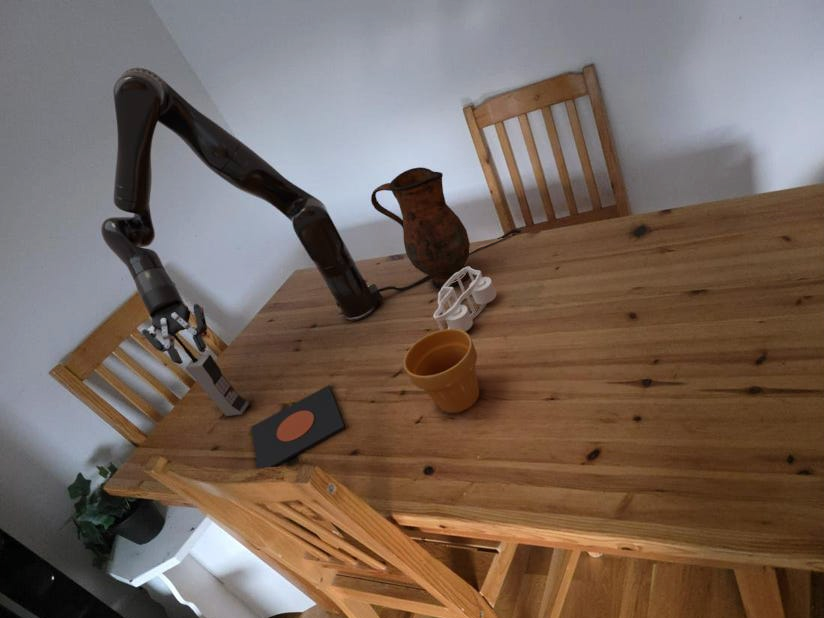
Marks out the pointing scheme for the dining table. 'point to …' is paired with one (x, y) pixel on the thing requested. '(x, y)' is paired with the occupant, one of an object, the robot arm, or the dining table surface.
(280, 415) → the mat
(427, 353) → the flower pot
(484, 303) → the skeletal toy car
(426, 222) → the pitcher
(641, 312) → the dining table surface
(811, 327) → the dining table surface
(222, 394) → the vintage mobile phone
